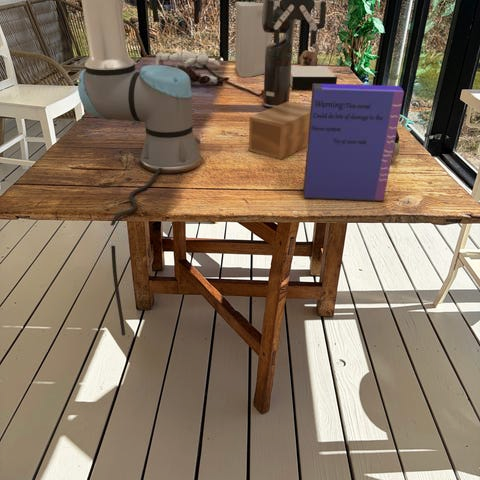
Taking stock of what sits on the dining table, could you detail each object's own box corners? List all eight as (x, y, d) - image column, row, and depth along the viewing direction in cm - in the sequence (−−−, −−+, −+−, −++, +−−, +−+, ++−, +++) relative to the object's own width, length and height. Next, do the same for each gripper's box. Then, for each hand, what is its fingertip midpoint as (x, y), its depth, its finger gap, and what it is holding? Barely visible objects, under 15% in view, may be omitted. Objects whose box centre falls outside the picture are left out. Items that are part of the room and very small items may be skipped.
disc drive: (292, 89, 190) (292, 76, 188) (286, 77, 210) (286, 65, 207) (335, 90, 191) (337, 77, 188) (325, 77, 210) (327, 65, 208)
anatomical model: (307, 75, 230) (306, 75, 216) (294, 63, 229) (292, 62, 215) (326, 55, 226) (326, 53, 212) (313, 41, 225) (312, 39, 211)
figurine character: (397, 170, 124) (390, 144, 136) (403, 143, 120) (396, 119, 131) (371, 168, 125) (366, 143, 137) (376, 142, 120) (371, 118, 132)
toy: (175, 75, 210) (174, 58, 206) (151, 64, 228) (150, 49, 224) (222, 69, 222) (222, 53, 218) (195, 59, 239) (195, 45, 236)
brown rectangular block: (285, 133, 145) (287, 101, 140) (316, 140, 140) (319, 108, 135) (248, 150, 131) (249, 116, 127) (281, 159, 126) (283, 124, 121)
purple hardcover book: (379, 191, 109) (398, 84, 97) (383, 201, 105) (404, 90, 93) (303, 188, 110) (312, 82, 98) (304, 197, 106) (314, 88, 94)
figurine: (151, 84, 182) (229, 91, 185) (152, 62, 179) (231, 70, 183) (156, 81, 204) (226, 88, 208) (157, 62, 201) (227, 69, 205)
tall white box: (273, 76, 210) (276, 6, 196) (239, 77, 209) (240, 6, 194) (266, 67, 226) (268, 2, 212) (235, 67, 225) (235, 1, 210)
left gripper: (216, -56, 142) (217, 22, 153) (137, -57, 146) (143, 19, 157) (210, -56, 135) (211, 25, 146) (127, -57, 140) (134, 22, 151)
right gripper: (328, -28, 115) (321, 44, 123) (269, -29, 116) (267, 42, 124) (330, -26, 108) (323, 49, 117) (268, -28, 110) (265, 47, 118)
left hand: (176, 22), depth 152 cm, fingers open, 13 cm apart
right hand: (294, 45), depth 121 cm, fingers open, 8 cm apart
